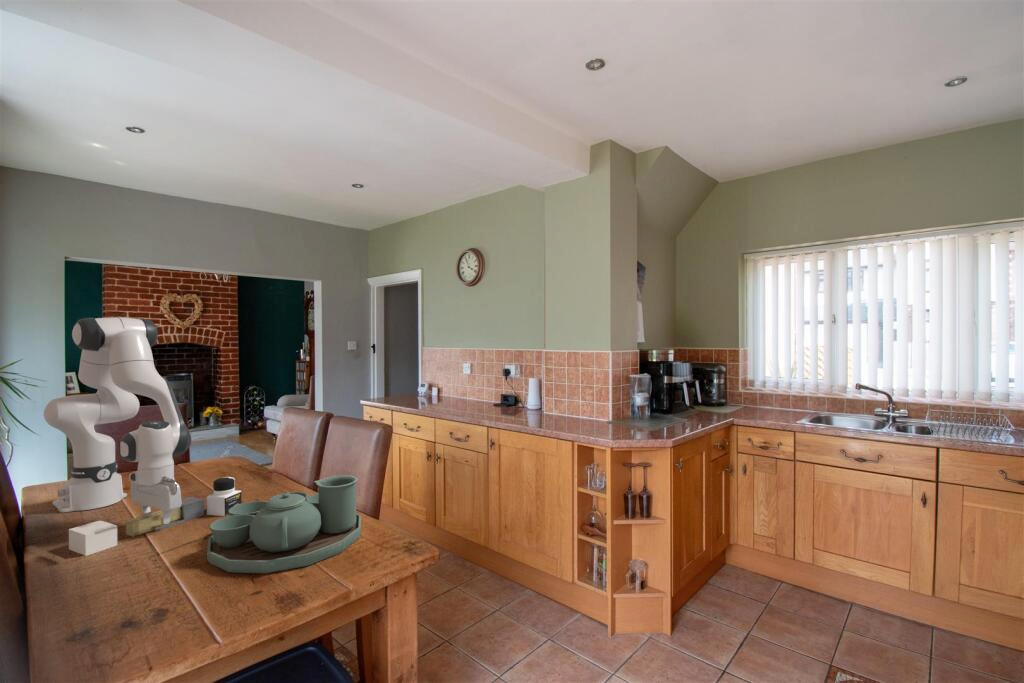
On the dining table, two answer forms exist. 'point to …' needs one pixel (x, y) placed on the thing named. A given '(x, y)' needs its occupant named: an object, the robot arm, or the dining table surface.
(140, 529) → the olive rectangular bar
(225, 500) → the medicine bottle
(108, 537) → the socket
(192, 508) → the sleeve
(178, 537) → the dining table surface
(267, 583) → the dining table surface
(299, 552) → the tea set
